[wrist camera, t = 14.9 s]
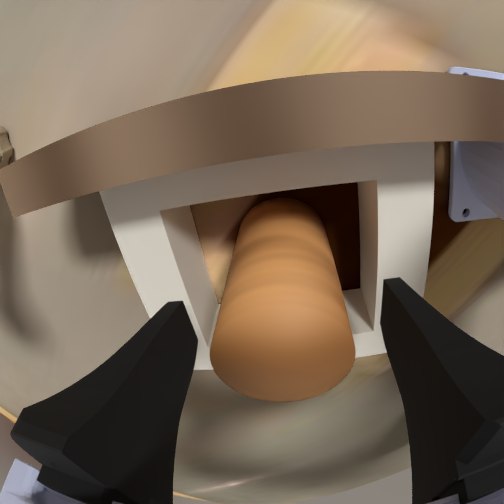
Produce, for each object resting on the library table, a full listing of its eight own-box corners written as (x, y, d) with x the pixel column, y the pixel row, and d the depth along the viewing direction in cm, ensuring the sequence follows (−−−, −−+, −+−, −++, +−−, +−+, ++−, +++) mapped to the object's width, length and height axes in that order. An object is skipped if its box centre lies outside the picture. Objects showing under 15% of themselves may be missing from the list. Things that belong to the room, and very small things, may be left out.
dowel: (328, 269, 17) (352, 394, 10) (247, 279, 17) (228, 404, 10) (321, 191, 15) (357, 297, 8) (230, 204, 15) (191, 314, 8)
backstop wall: (452, 76, 11) (533, 85, 6) (455, 115, 12) (534, 143, 7) (75, 136, 14) (-4, 171, 9) (85, 170, 15) (12, 217, 10)
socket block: (400, 117, 12) (433, 128, 9) (396, 306, 18) (413, 347, 15) (130, 158, 14) (95, 180, 11) (189, 328, 20) (175, 369, 17)
